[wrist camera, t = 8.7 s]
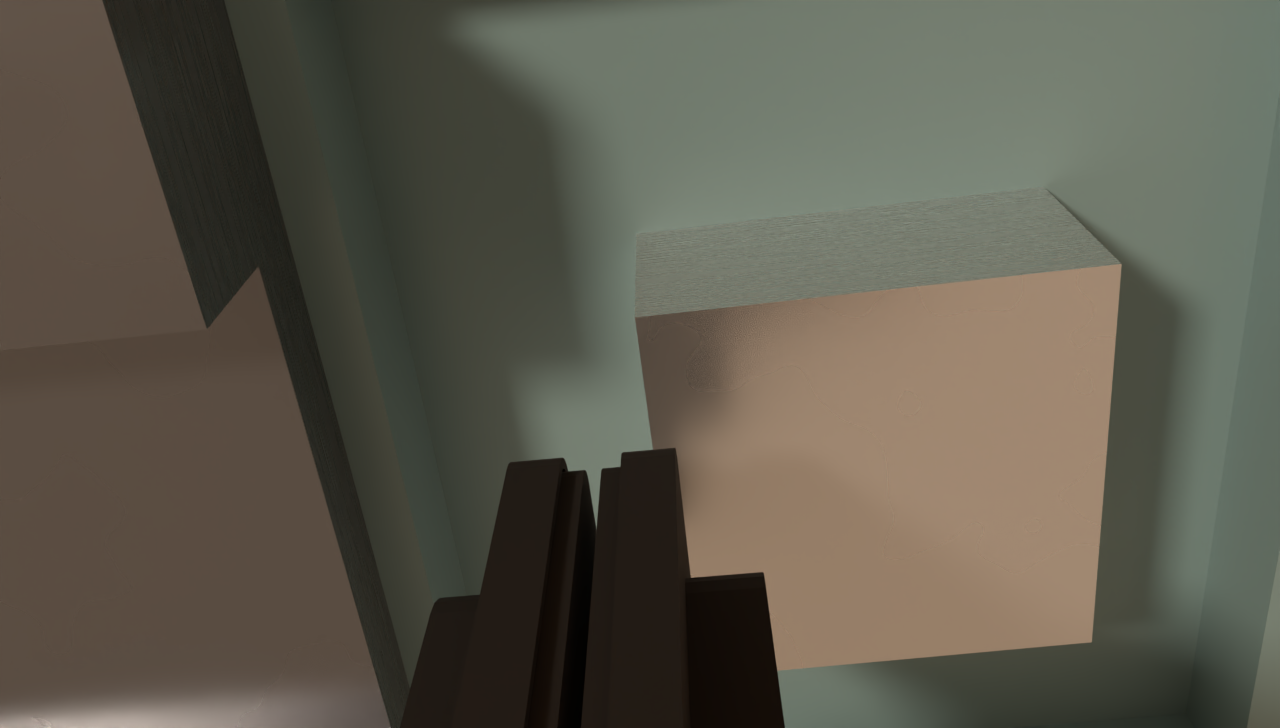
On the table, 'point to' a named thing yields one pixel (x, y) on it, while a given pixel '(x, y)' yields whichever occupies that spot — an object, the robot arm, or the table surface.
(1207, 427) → the tray
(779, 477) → the tan square block
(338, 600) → the slotted ledge
